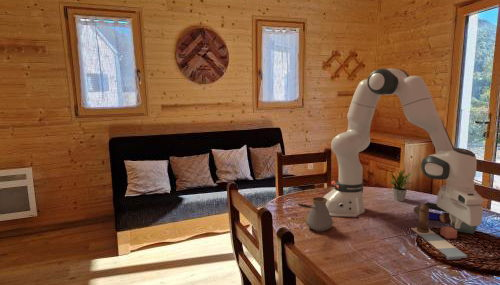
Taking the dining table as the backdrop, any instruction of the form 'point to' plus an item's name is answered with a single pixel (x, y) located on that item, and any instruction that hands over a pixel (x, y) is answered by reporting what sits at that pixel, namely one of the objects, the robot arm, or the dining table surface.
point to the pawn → (423, 219)
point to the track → (442, 245)
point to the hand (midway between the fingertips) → (455, 227)
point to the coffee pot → (318, 215)
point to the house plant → (399, 186)
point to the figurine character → (437, 216)
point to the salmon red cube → (448, 232)
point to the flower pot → (466, 228)
